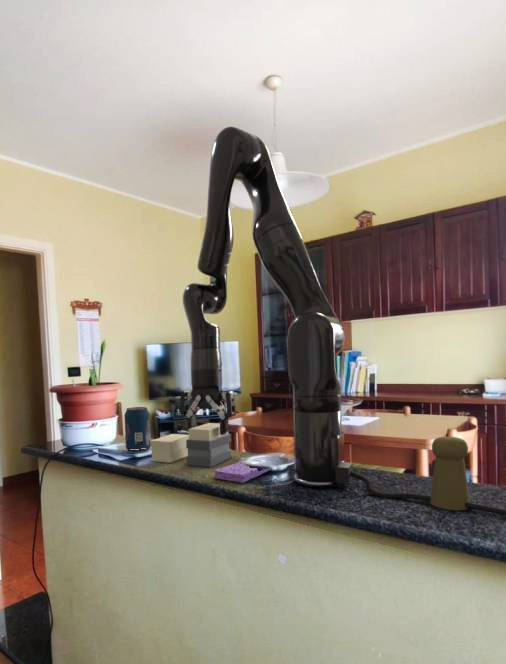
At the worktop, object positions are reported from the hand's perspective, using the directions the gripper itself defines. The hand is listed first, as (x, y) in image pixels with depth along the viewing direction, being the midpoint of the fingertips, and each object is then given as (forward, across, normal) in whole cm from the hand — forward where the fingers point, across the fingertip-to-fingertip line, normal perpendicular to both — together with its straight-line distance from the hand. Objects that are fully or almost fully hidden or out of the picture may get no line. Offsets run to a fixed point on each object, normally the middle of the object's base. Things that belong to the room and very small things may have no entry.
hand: (207, 433), depth 105 cm
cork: (+7, +52, -13) cm, 54 cm away
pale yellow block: (+1, 0, 0) cm, 1 cm away
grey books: (+7, 0, 0) cm, 7 cm away
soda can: (+7, -25, +4) cm, 26 cm away
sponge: (+7, +13, -8) cm, 17 cm away
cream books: (+7, -11, 0) cm, 13 cm away
